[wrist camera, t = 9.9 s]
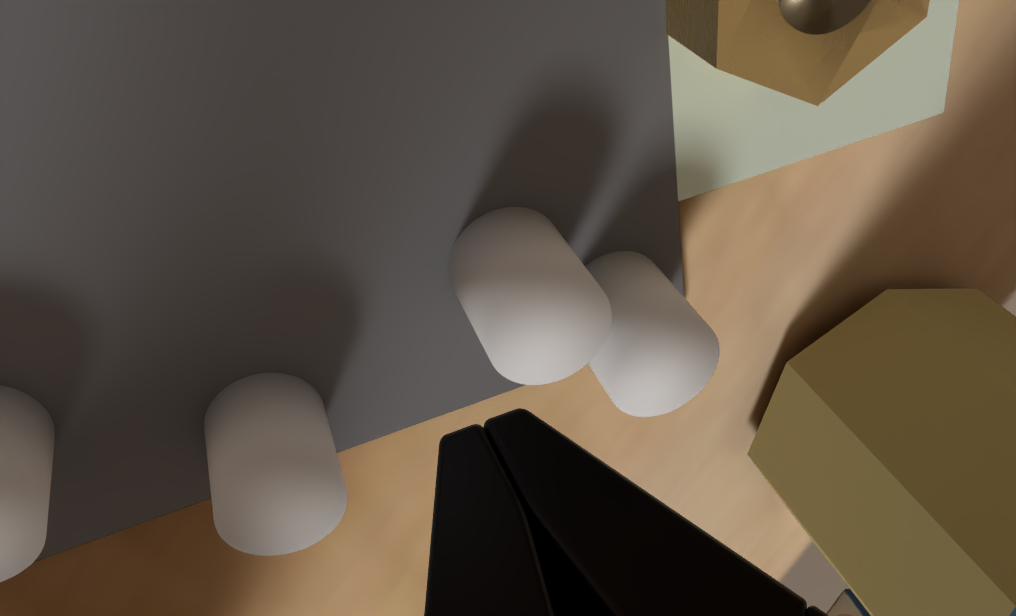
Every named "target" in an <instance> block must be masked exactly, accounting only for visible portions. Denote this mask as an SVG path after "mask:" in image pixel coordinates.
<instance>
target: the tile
mask: <svg viewBox="0 0 1016 616" xmlns="http://www.w3.org/2000/svg"><path fill="white" fill-rule="evenodd" d="M958 4H959V0H930V2H929V8H928V14H927V17H926V18H925V19H924V20H922V21H921V22H920V23H919V24H918V25H916V26H915V27H914V28H913V29H911V30H910V31H909V32H908V33H907V34H905V35H904V36H903V37H902V38H900V39H899V40H898V41H897V42H896V43H894V44H893V45H892V46H891V47H889V48H888V49H887V50H886V51H885V52H883V53H882V54H881V55H880V56H878V57H877V58H876V59H875V60H874V61H872V62H871V63H870V64H869V65H867V66H866V67H865V68H864V69H863V70H861V71H860V72H859V73H858V74H856V75H855V76H854V77H853V78H852V79H850V80H849V81H848V82H847V83H845V84H844V85H843V86H842V87H841V88H839V89H838V90H837V91H836V92H834V93H833V94H832V95H831V96H830V97H828V98H827V99H826V100H825V101H823V102H822V103H821V104H820V105H819V106H816V105H813V104H810V103H808V102H805V101H802V100H799V99H797V98H794V97H791V96H789V95H786V94H783V93H781V92H778V91H775V90H772V89H770V88H767V87H764V86H762V85H759V84H756V83H754V82H751V81H748V80H745V79H743V78H740V77H737V76H735V75H732V74H729V73H727V72H724V71H721V70H718V69H716V68H714V67H713V66H712V65H710V64H709V63H707V62H706V61H704V60H703V59H702V58H700V57H699V56H697V55H696V54H694V53H693V52H692V51H690V50H689V49H687V48H686V47H684V46H683V45H682V44H680V43H679V42H677V41H676V40H674V39H673V38H672V37H670V36H669V35H668V40H669V56H670V73H671V89H672V106H673V123H674V139H675V156H676V173H677V189H678V202H679V201H682V200H685V199H688V198H691V197H694V196H697V195H700V194H703V193H706V192H709V191H712V190H715V189H718V188H721V187H724V186H727V185H730V184H732V183H735V182H738V181H741V180H744V179H747V178H750V177H753V176H756V175H759V174H762V173H765V172H768V171H771V170H774V169H777V168H780V167H783V166H786V165H789V164H792V163H795V162H798V161H801V160H804V159H807V158H810V157H813V156H816V155H819V154H822V153H825V152H828V151H831V150H834V149H837V148H840V147H843V146H846V145H849V144H852V143H855V142H858V141H861V140H864V139H867V138H870V137H873V136H876V135H878V134H881V133H884V132H887V131H890V130H893V129H896V128H899V127H902V126H905V125H908V124H911V123H914V122H917V121H920V120H923V119H926V118H929V117H932V116H935V115H938V114H941V113H944V106H945V99H946V92H947V84H948V77H949V70H950V63H951V55H952V48H953V41H954V33H955V26H956V19H957V11H958Z"/></svg>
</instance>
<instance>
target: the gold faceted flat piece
mask: <svg viewBox="0 0 1016 616" xmlns="http://www.w3.org/2000/svg"><path fill="white" fill-rule="evenodd" d="M929 2H930V0H666V34H667V35H669V36H670V37H672V38H673V39H674V40H676V41H677V42H679V43H680V44H682V45H683V46H684V47H686V48H687V49H689V50H690V51H692V52H693V53H694V54H696V55H697V56H699V57H700V58H702V59H703V60H704V61H706V62H707V63H709V64H710V65H712V66H713V67H714V68H716V69H718V70H721V71H724V72H727V73H729V74H732V75H735V76H737V77H740V78H743V79H745V80H748V81H751V82H754V83H756V84H759V85H762V86H764V87H767V88H770V89H772V90H775V91H778V92H781V93H783V94H786V95H789V96H791V97H794V98H797V99H799V100H802V101H805V102H808V103H810V104H813V105H816V106H819V105H820V104H821V103H822V102H823V101H825V100H826V99H827V98H828V97H830V96H831V95H832V94H833V93H834V92H836V91H837V90H838V89H839V88H841V87H842V86H843V85H844V84H845V83H847V82H848V81H849V80H850V79H852V78H853V77H854V76H855V75H856V74H858V73H859V72H860V71H861V70H863V69H864V68H865V67H866V66H867V65H869V64H870V63H871V62H872V61H874V60H875V59H876V58H877V57H878V56H880V55H881V54H882V53H883V52H885V51H886V50H887V49H888V48H889V47H891V46H892V45H893V44H894V43H896V42H897V41H898V40H899V39H900V38H902V37H903V36H904V35H905V34H907V33H908V32H909V31H910V30H911V29H913V28H914V27H915V26H916V25H918V24H919V23H920V22H921V21H922V20H924V19H925V18H926V17H927V14H928V8H929Z"/></svg>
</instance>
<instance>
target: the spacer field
mask: <svg viewBox="0 0 1016 616" xmlns="http://www.w3.org/2000/svg"><path fill="white" fill-rule="evenodd" d="M719 350H720V349H719V342H718V339H717V337H716V335H715V333H714V332H713V330H712V329H711V328H710V327H709V325H708V324H707V323H706V322H705V321H704V320H703V319H702V317H701V316H700V315H699V314H698V313H697V312H696V311H695V309H694V308H693V307H692V306H691V305H690V304H689V303H688V301H687V300H686V299H685V298H684V289H683V273H682V256H681V239H680V223H679V206H678V189H677V173H676V156H675V139H674V123H673V106H672V89H671V73H670V56H669V40H668V35H667V34H666V0H0V582H2V581H5V580H7V579H9V578H11V577H13V576H15V575H17V574H19V573H20V572H22V571H23V570H25V569H26V568H27V567H28V566H30V565H31V564H32V563H33V562H35V561H38V560H40V559H43V558H46V557H49V556H52V555H54V554H57V553H60V552H63V551H65V550H68V549H71V548H74V547H77V546H79V545H82V544H85V543H88V542H90V541H93V540H96V539H99V538H102V537H104V536H107V535H110V534H113V533H115V532H118V531H121V530H124V529H127V528H129V527H132V526H135V525H138V524H140V523H143V522H146V521H149V520H152V519H154V518H157V517H160V516H163V515H165V514H168V513H171V512H174V511H177V510H179V509H182V508H185V507H188V506H190V505H193V504H196V503H199V502H202V501H204V500H207V499H210V498H211V499H212V508H213V518H214V524H215V528H216V530H217V533H218V534H219V536H220V537H221V538H222V539H223V540H224V541H225V542H226V543H227V544H228V545H230V546H231V547H233V548H234V549H236V550H239V551H241V552H244V553H247V554H252V555H258V556H278V555H284V554H289V553H293V552H296V551H300V550H302V549H305V548H307V547H309V546H311V545H313V544H315V543H317V542H318V541H320V540H322V539H323V538H324V537H326V536H327V535H328V534H329V533H330V532H331V531H332V530H333V529H334V528H335V527H336V526H337V525H338V523H339V522H340V521H341V519H342V517H343V515H344V513H345V511H346V507H347V500H348V496H347V490H346V486H345V483H344V479H343V475H342V471H341V468H340V464H339V460H338V456H337V453H338V452H341V451H343V450H346V449H349V448H352V447H354V446H357V445H360V444H363V443H366V442H368V441H371V440H374V439H377V438H379V437H382V436H385V435H388V434H391V433H393V432H396V431H399V430H402V429H404V428H407V427H410V426H413V425H416V424H418V423H421V422H424V421H427V420H429V419H432V418H435V417H438V416H441V415H443V414H446V413H449V412H452V411H454V410H457V409H460V408H463V407H466V406H468V405H471V404H474V403H477V402H479V401H482V400H485V399H488V398H491V397H493V396H496V395H499V394H502V393H504V392H507V391H510V390H513V389H516V388H518V387H521V386H524V385H542V384H548V383H552V382H555V381H559V380H561V379H564V378H566V377H568V376H570V375H572V374H574V373H575V372H577V371H578V370H580V369H581V368H582V367H584V366H585V365H586V364H587V363H588V365H589V366H590V368H591V369H592V371H593V372H594V374H595V375H596V377H597V378H598V380H599V381H600V383H601V385H602V386H603V388H604V389H605V391H606V392H607V394H608V395H609V397H610V398H611V400H612V401H613V403H614V404H615V406H616V407H617V408H618V409H620V410H621V411H623V412H624V413H627V414H629V415H632V416H637V417H652V416H658V415H662V414H665V413H668V412H670V411H673V410H675V409H677V408H679V407H681V406H682V405H684V404H685V403H687V402H688V401H690V400H691V399H692V398H694V397H695V396H696V395H697V394H698V393H699V392H700V391H701V390H702V389H703V388H704V387H705V385H706V384H707V383H708V381H709V380H710V378H711V377H712V375H713V373H714V371H715V369H716V366H717V363H718V359H719Z"/></svg>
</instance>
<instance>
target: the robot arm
mask: <svg viewBox="0 0 1016 616" xmlns="http://www.w3.org/2000/svg"><path fill="white" fill-rule="evenodd" d="M424 616H829V615H827V614H826V613H824V612H823V611H821V610H820V609H818V608H817V607H815V606H810V607H808V608H807V603H806V601H805V600H804V599H803V598H802V597H800V596H799V595H797V594H796V593H794V592H793V591H791V590H790V589H788V588H787V587H786V586H784V585H783V584H781V583H780V582H778V581H777V580H775V579H774V578H772V577H771V576H769V575H768V574H766V573H765V572H764V571H762V570H761V569H759V568H758V567H756V566H755V565H753V564H752V563H750V562H749V561H747V560H746V559H745V558H743V557H742V556H740V555H739V554H737V553H736V552H734V551H733V550H731V549H730V548H728V547H727V546H725V545H724V544H723V543H721V542H720V541H718V540H717V539H715V538H714V537H712V536H711V535H709V534H708V533H706V532H705V531H704V530H702V529H701V528H699V527H698V526H696V525H695V524H693V523H692V522H690V521H689V520H687V519H686V518H684V517H683V516H682V515H680V514H679V513H677V512H676V511H674V510H673V509H671V508H670V507H668V506H667V505H665V504H664V503H662V502H661V501H660V500H658V499H657V498H655V497H654V496H652V495H651V494H649V493H648V492H646V491H645V490H643V489H642V488H641V487H639V486H638V485H636V484H635V483H633V482H632V481H630V480H629V479H627V478H626V477H624V476H623V475H621V474H620V473H619V472H617V471H616V470H614V469H613V468H611V467H610V466H608V465H607V464H605V463H604V462H602V461H601V460H599V459H598V458H597V457H595V456H594V455H592V454H591V453H589V452H588V451H586V450H585V449H583V448H582V447H580V446H579V445H578V444H576V443H575V442H573V441H572V440H570V439H569V438H567V437H566V436H564V435H563V434H561V433H560V432H558V431H557V430H556V429H554V428H553V427H551V426H550V425H548V424H547V423H545V422H544V421H542V420H541V419H539V418H538V417H536V416H535V415H534V414H532V413H531V412H529V411H527V410H525V409H521V408H519V409H515V410H512V411H510V412H507V413H504V414H501V415H499V416H496V417H493V418H490V419H488V420H487V421H486V422H485V424H484V428H483V427H482V426H481V425H478V424H474V425H471V426H468V427H466V428H463V429H460V430H457V431H455V432H452V433H449V434H446V435H444V436H443V437H442V438H441V441H440V444H439V454H438V465H437V477H436V488H435V500H434V511H433V522H432V534H431V545H430V557H429V568H428V580H427V591H426V603H425V614H424Z"/></svg>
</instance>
